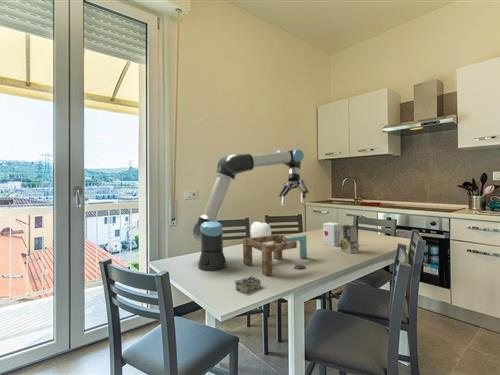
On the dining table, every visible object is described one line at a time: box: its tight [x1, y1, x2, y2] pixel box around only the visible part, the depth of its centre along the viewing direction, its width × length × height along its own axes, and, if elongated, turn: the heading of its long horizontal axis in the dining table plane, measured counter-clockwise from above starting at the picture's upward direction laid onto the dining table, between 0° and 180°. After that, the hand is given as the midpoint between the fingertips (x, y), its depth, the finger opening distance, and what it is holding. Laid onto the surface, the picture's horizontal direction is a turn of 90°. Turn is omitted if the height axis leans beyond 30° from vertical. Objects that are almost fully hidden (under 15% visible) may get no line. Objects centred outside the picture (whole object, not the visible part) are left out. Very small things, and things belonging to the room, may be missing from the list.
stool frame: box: [242, 233, 307, 277], centre depth 147 cm, size 25×25×14 cm
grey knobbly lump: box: [233, 275, 262, 293], centre depth 117 cm, size 11×8×4 cm
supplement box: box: [322, 222, 342, 247], centre depth 194 cm, size 9×9×15 cm
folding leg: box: [282, 234, 308, 259], centre depth 158 cm, size 16×4×13 cm, turn 119°
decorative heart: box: [250, 221, 272, 245], centre depth 191 cm, size 18×11×17 cm, turn 38°
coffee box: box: [340, 224, 359, 254], centre depth 174 cm, size 9×6×16 cm
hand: (292, 204), depth 174 cm, fingers open, 13 cm apart
